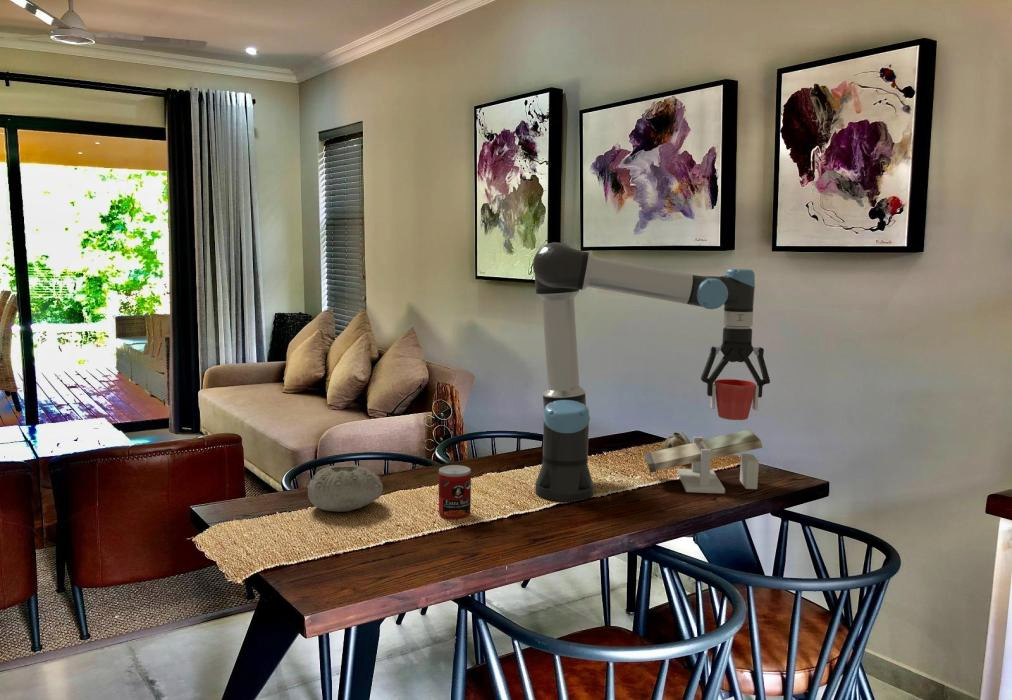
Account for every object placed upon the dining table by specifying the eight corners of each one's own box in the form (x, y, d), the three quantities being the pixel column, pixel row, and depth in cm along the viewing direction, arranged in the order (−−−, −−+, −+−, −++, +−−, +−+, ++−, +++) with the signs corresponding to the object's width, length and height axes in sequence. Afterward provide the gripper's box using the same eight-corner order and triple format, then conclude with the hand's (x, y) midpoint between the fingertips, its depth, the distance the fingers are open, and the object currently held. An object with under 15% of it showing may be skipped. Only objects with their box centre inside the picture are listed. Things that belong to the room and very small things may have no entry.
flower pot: (749, 413, 224) (751, 379, 223) (757, 422, 214) (759, 386, 212) (710, 412, 225) (711, 378, 224) (716, 421, 215) (718, 384, 213)
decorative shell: (329, 493, 209) (329, 455, 208) (394, 499, 204) (393, 460, 203) (294, 515, 192) (293, 473, 190) (363, 522, 187) (363, 480, 186)
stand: (686, 491, 214) (688, 450, 213) (677, 472, 232) (678, 434, 231) (761, 494, 213) (764, 453, 211) (746, 475, 231) (749, 437, 229)
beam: (650, 472, 218) (648, 463, 217) (646, 461, 229) (644, 452, 229) (762, 448, 214) (760, 439, 214) (752, 437, 226) (750, 428, 226)
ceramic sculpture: (699, 428, 250) (685, 441, 237) (699, 455, 251) (685, 470, 238) (665, 424, 254) (650, 437, 242) (665, 451, 256) (650, 465, 243)
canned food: (441, 520, 189) (442, 475, 188) (435, 510, 197) (435, 465, 195) (473, 518, 191) (474, 473, 190) (466, 507, 199) (466, 464, 197)
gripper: (695, 327, 214) (692, 410, 217) (785, 329, 212) (780, 412, 215) (691, 324, 221) (688, 404, 224) (778, 326, 219) (773, 407, 222)
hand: (733, 408), depth 219 cm, fingers closed on flower pot, 10 cm apart
